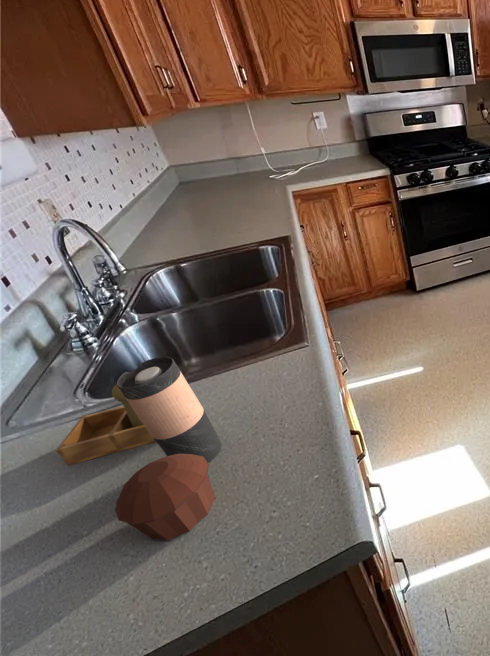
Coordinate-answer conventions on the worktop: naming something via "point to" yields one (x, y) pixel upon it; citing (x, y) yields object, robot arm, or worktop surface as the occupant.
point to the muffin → (167, 496)
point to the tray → (102, 436)
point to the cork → (126, 407)
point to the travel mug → (169, 409)
